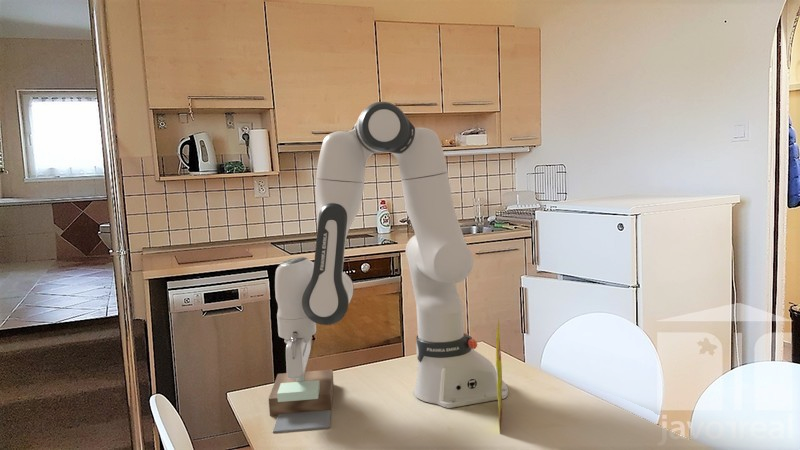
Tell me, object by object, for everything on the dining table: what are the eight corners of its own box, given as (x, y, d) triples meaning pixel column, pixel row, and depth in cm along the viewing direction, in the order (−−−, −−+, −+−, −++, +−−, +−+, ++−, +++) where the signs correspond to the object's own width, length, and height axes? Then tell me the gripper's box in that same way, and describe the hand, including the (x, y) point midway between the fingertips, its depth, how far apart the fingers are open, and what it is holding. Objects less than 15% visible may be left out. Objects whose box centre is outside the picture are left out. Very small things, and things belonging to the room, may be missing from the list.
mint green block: (319, 388, 135) (319, 380, 134) (318, 398, 129) (317, 390, 128) (281, 391, 134) (280, 383, 134) (277, 402, 128) (277, 393, 128)
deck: (333, 384, 147) (332, 369, 147) (331, 410, 132) (330, 393, 131) (278, 388, 146) (277, 373, 146) (269, 415, 130) (268, 398, 130)
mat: (331, 411, 131) (331, 409, 131) (329, 428, 123) (329, 426, 123) (278, 415, 130) (278, 414, 130) (273, 432, 122) (273, 431, 122)
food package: (502, 434, 116) (499, 338, 114) (496, 434, 116) (493, 338, 114) (504, 403, 131) (501, 317, 129) (499, 402, 131) (496, 317, 129)
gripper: (306, 338, 124) (310, 399, 126) (313, 314, 144) (317, 367, 146) (277, 340, 124) (281, 402, 125) (288, 316, 144) (292, 369, 145)
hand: (301, 383), depth 136 cm, fingers closed
